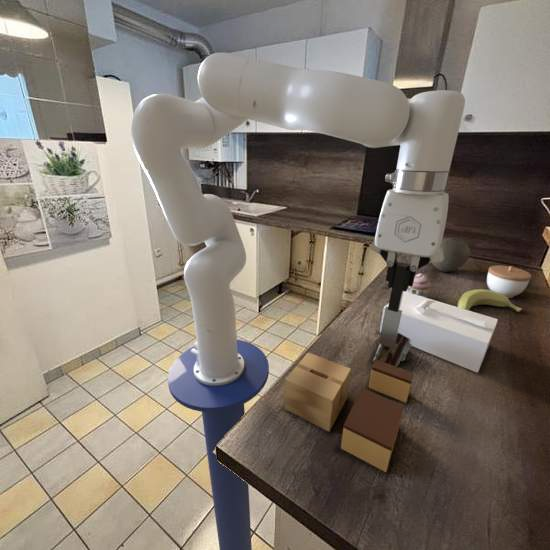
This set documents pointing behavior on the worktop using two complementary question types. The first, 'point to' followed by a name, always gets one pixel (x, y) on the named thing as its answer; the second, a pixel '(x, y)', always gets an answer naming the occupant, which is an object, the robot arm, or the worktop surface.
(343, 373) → the knife block
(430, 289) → the cupcake
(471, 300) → the banana
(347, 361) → the worktop surface
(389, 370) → the cake slice
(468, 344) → the tissue box
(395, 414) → the loaf cake
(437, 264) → the cantaloupe
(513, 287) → the lidded bowl
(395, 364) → the chocolate cake
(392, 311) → the knife
